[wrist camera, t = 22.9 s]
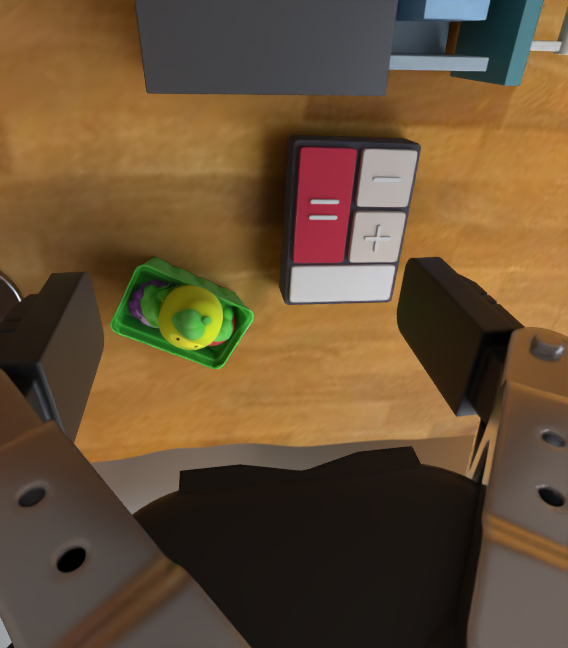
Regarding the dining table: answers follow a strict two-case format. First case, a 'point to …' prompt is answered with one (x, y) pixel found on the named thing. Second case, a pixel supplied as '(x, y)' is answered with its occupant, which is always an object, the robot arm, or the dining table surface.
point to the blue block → (442, 10)
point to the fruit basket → (181, 314)
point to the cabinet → (266, 46)
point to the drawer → (477, 44)
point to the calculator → (345, 217)
